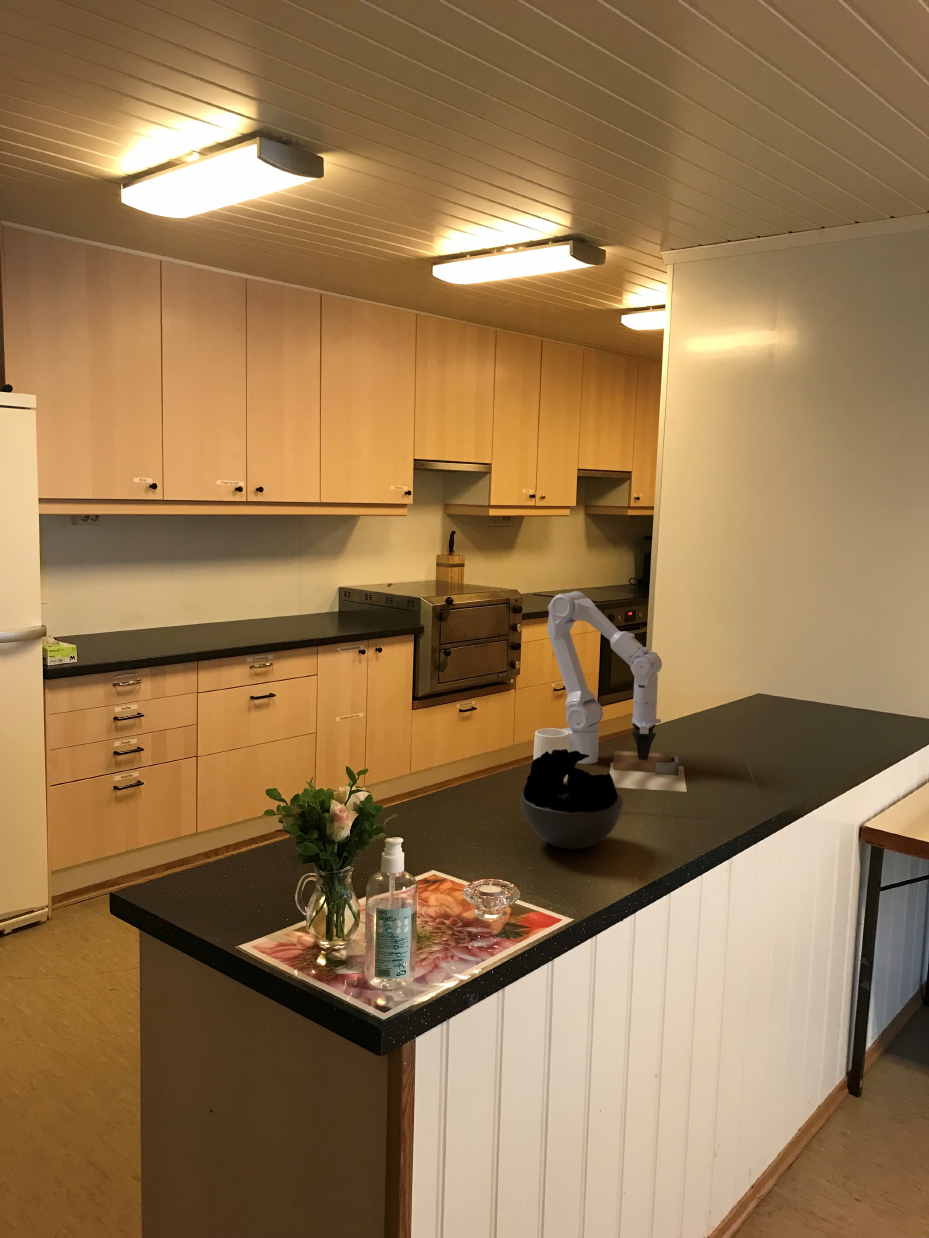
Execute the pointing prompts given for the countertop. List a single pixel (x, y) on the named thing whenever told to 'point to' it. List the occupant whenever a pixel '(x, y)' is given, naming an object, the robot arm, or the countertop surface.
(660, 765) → the bracket
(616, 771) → the mounting board
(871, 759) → the countertop surface
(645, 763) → the rail
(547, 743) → the cup
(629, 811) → the countertop surface
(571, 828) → the bowl of black rocks
